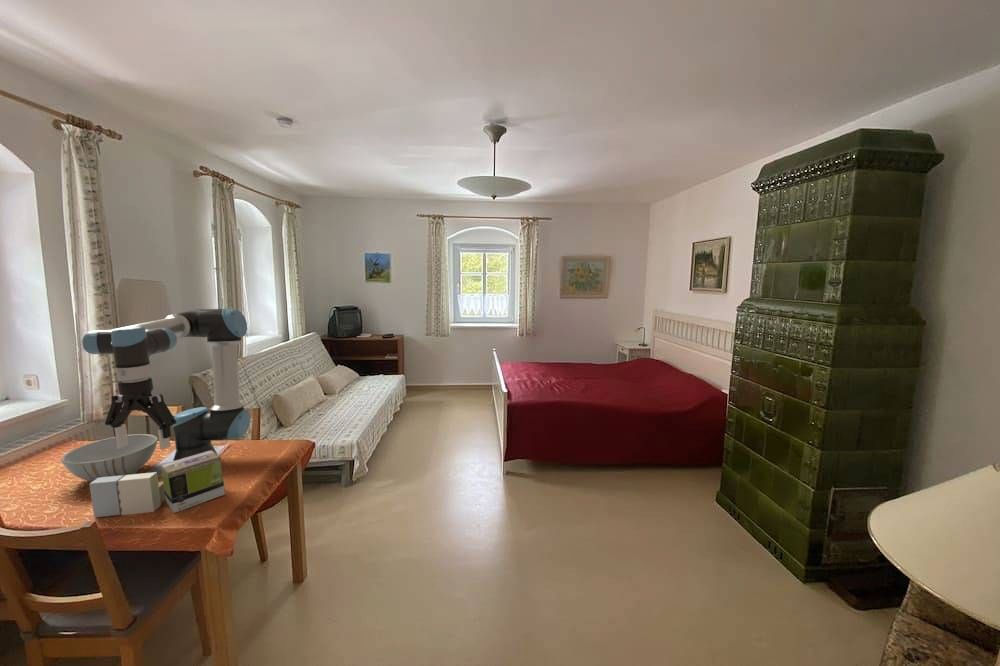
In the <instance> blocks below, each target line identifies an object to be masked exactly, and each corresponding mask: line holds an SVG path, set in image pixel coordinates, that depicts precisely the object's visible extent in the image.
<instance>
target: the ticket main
mask: <svg viewBox="0 0 1000 666" xmlns="http://www.w3.org/2000/svg"><path fill="white" fill-rule="evenodd" d="M117 486H118V495H119V503H120V507H121V508H120V511H121V514H120V515H121V516H127V515H128V516H129V515H136V514H144V513H145V514H146V513H154V512H156V511H157V510H158V508H160V506H161V505H162V503H163V502H165V501H166V498H165V492H164V484H163V481H159V478H158V472H157V471H154V472H145V473H142V472H141V473H136V474H132V475H124V476H122V477H121V478H120V479H118V480H117Z"/></svg>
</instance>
